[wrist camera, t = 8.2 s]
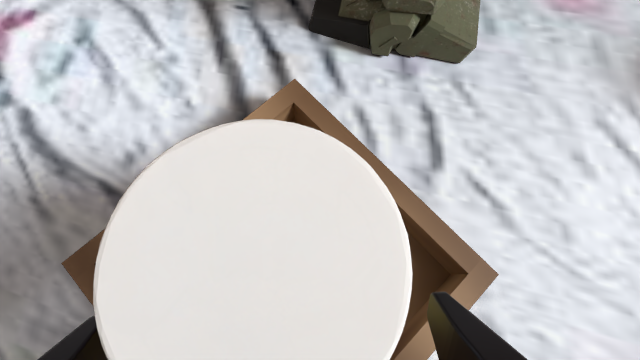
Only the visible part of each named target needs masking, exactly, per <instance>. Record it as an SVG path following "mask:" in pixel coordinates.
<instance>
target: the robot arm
mask: <svg viewBox="0 0 640 360" xmlns="http://www.w3.org/2000/svg"><path fill="white" fill-rule="evenodd" d="M427 319H428V323H429V326H430V330H431V333H432V337H433V340H434V344H435V347H436V351H437V354H438V358H439V360H527V359H526V358H525V357H524V356H523V355H521V354H520V353H519V352H518V351H517V350H515V349H514V348H513V347H512V346H511V345H509V344H508V343H507V342H506V341H505V340H503V339H502V338H501V337H500V336H499V335H497V334H496V333H495V332H494V331H493V330H491V329H490V328H489V327H488V326H487V325H485V324H484V323H483V322H482V321H481V320H479V319H478V318H477V317H476V316H475V315H473V314H472V313H471V312H470V311H469V310H467V309H466V308H465V307H464V306H462V305H461V304H460V303H459V302H458V301H456V300H455V299H454V298H453V297H452V296H450V295H449V294H448V293H446V292H433V293H431V295H430V299H429V304H428V309H427ZM38 360H108V358H107V357H106V354H105V352H104V350H103V347H102V344H101V341H100V337H99V334H98V329H97V324H96V319H95V316H92V317H90V318H89V319H88V320H86V321H85V322H84V323H83V324H81V325H80V326H79V327H78V328H76V329H75V330H74V331H73V332H71V333H70V334H69V335H68V336H66V337H65V338H64V339H63V340H61V341H60V342H59V343H58V344H56V345H55V346H54V347H53V348H51V349H50V350H49V351H48V352H46V353H45V354H44V355H43V356H41V357H40V358H39V359H38Z"/></svg>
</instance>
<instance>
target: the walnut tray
mask: <svg viewBox="0 0 640 360" xmlns="http://www.w3.org/2000/svg"><path fill="white" fill-rule="evenodd" d="M252 119H273V120H279V121H286V122H292V123H297V124H300V125H303V126H307V127H310V128H313V129H316V130H319V131H321V132H323V133H325V134H327V135H329V136H331V137H333V138H335V139H337V140H339V141H340V142H342V143H343V144H345V145H346V146H348V147H349V148H351V149H352V150H353V151H354V152H356V153H357V154H358V155H359V156H360V157H362V158H363V159H364V160H365V161H366V162H367V163H368V164H369V165H370V166H371V167H372V169H373V170H374V171H375V172H376V174H377V175H378V176H379V177H380V179H381V180H382V181H383V183H384V184H385V185H386V187H387V188H388V190H389V192H390V194H391V195H392V197H393V199H394V200H395V203H396V205H397V207H398V209H399V211H400V214H401V217H402V220H403V223H404V225H405V228H406V231H407V234H408V239H409V245H410V253H411V263H412V291H411V297H410V304H409V310H408V314H407V318H406V321H405V325H404V328H403V332H402V334H401V337H400V339H399V341H398V344H397V346H396V348H395V350H394V352H393V354H392V356H391V358H390V360H427V359H428V358H429V357H430V356H431V354H432V353H433V352H434V351H435V350H436V347H435V344H434V340H433V337H432V333H431V330H430V326H429V323H428V319H427V309H428V304H429V299H430V295H431V293H433V292H446V293H448V294H449V295H450V296H452V297H453V298H454V299H455V300H456V301H458V302H459V303H460V304H461V305H462V306H464V307H465V308H466V309H467V310H469V309H470V308H471V307H472V306H473V304H474V303H475V302H476V301H477V300H478V299H479V297H480V296H481V295H482V294H483V293H484V291H485V290H486V289H487V288H488V287H489V285H490V284H491V283H492V282H493V281H494V280H495V278H496V277H497V276H498V275H499V274H498V273H497V272H496V271H495V270H493V269H492V268H491V267H490V266H489V265H488V264H487V263H486V262H485V261H484V260H483V259H482V258H481V257H480V256H479V255H478V254H477V253H476V252H475V251H474V250H473V249H472V248H471V247H470V246H468V245H467V244H466V243H465V242H464V241H463V240H462V239H461V238H460V237H459V236H458V235H457V234H456V233H455V232H454V231H453V230H452V229H451V228H450V227H449V226H448V225H447V224H446V223H445V222H443V221H442V220H441V219H440V218H439V217H438V216H437V215H436V214H435V213H434V212H433V211H432V210H431V209H430V208H429V207H428V206H427V205H426V204H425V203H424V202H423V201H422V200H421V199H420V198H418V197H417V196H416V195H415V194H414V193H413V192H412V191H411V190H410V189H409V188H408V187H407V186H406V185H405V184H404V183H403V182H402V181H401V180H400V179H399V178H398V177H397V176H396V175H394V174H393V173H392V172H391V171H390V170H389V169H388V168H387V167H386V166H385V165H384V164H383V163H382V162H381V161H380V160H379V159H378V158H377V157H376V156H375V155H374V154H373V153H372V152H371V151H369V150H368V149H367V148H366V147H365V146H364V145H363V144H362V143H361V142H360V141H359V140H358V139H357V138H356V137H355V136H354V135H353V134H352V133H351V132H350V131H349V130H348V129H347V128H346V127H344V126H343V125H342V124H341V123H340V122H339V121H338V120H337V119H336V118H335V117H334V116H333V115H332V114H331V113H330V112H329V111H328V110H327V109H326V108H325V107H324V106H323V105H322V104H321V103H319V102H318V101H317V100H316V99H315V98H314V97H313V96H312V95H311V94H310V93H309V92H308V91H307V90H306V89H305V88H304V87H303V86H302V85H301V84H300V83H299V82H298V81H297V80H296V79H294V80H293V81H291V82H290V83H289V84H288V85H286V86H285V87H284V88H283V89H281V90H280V91H279V92H277V93H276V94H275V95H274V96H272V97H271V98H270V99H269V100H267V101H266V102H265V103H264V104H262V105H261V106H260V107H258V108H257V109H256V110H255V111H253V112H252V113H251V114H250V115H248V116H247V117H246V118H245V119H243V120H252ZM104 231H105V229H104V230H103V231H102V232H100V233H99V234H98V235H97V236H95V237H94V238H93V239H91V240H90V241H89V242H88V243H86V244H85V245H84V246H83V247H81V248H80V249H79V250H78V251H76V252H75V253H74V254H73V255H71V256H70V257H69V258H67V259H66V260H65V261H64V262H62V265H63V266H64V268H65V269H66V270H67V272H68V273H69V274H70V276H71V277H72V278H73V280H74V281H75V282H76V284H77V285H78V286H79V288H80V289H81V290H82V292H83V293H84V294H85V296H86V297H87V298H88V300H89V301H90V303H91V304H92V305H93V282H94V272H95V265H96V259H97V255H98V250H99V246H100V242H101V239H102V237H103V234H104ZM93 307H94V305H93Z"/></svg>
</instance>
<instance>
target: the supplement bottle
mask: <svg viewBox="0 0 640 360" xmlns="http://www.w3.org/2000/svg"><path fill="white" fill-rule="evenodd" d="M411 291H412V263H411V253H410V245H409V239H408V234H407V231H406V228H405V225H404V223H403V220H402V217H401V214H400V211H399V209H398V207H397V205H396V203H395V200H394V199H393V197H392V195H391V194H390V192H389V190H388V188H387V187H386V185H385V184H384V183H383V181H382V180H381V179H380V177H379V176H378V175H377V174H376V172H375V171H374V170H373V169H372V167H371V166H370V165H369V164H368V163H367V162H366V161H365V160H364V159H363V158H362V157H360V156H359V155H358V154H357V153H356V152H354V151H353V150H352V149H351V148H349V147H348V146H346V145H345V144H343V143H342V142H340V141H339V140H337V139H335V138H333V137H331V136H329V135H327V134H325V133H323V132H321V131H319V130H316V129H313V128H310V127H307V126H303V125H300V124H297V123H292V122H286V121H279V120H273V119H252V120H241V121H236V122H231V123H226V124H222V125H219V126H215V127H212V128H209V129H206V130H204V131H202V132H200V133H197V134H195V135H193V136H191V137H188V138H186V139H184V140H182V141H181V142H179V143H177V144H176V145H174V146H172V147H171V148H169V149H168V150H166V151H165V152H163V153H162V154H161V155H160V156H159V157H157V158H156V159H155V160H154V161H153V162H151V163H150V164H149V165H148V166H147V167H146V168H145V169H144V170H143V171H142V172H141V173H140V174H139V175H138V176H137V177H136V179H135V180H134V181H133V182H132V183H131V185H130V186H129V187H128V189H127V190H126V191H125V193H124V194H123V196H122V197H121V199H120V200H119V202H118V204H117V206H116V208H115V210H114V211H113V213H112V215H111V217H110V220H109V222H108V224H107V226H106V228H105V231H104V234H103V237H102V239H101V242H100V246H99V250H98V255H97V259H96V265H95V272H94V282H93V305H94V312H95V319H96V324H97V329H98V334H99V337H100V341H101V344H102V347H103V350H104V352H105V354H106V357H107V358H108V360H390V358H391V356H392V354H393V352H394V350H395V348H396V346H397V344H398V341H399V339H400V337H401V334H402V332H403V328H404V325H405V321H406V318H407V314H408V310H409V304H410V297H411Z"/></svg>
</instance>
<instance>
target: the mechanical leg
mask: <svg viewBox="0 0 640 360" xmlns="http://www.w3.org/2000/svg"><path fill="white" fill-rule="evenodd" d="M479 9H480V0H316V1H315V5H314V9H313V13H312V16H311V20H310V24H309V30H310V31H312V32H315V33H318V34H322V35H325V36H328V37H332V38H335V39H338V40H342V41H345V42H348V43H352V44H355V45H358V46H362V47H365V48H368V49H369V45H370V46H371V51H372V54H376V55H383V56H388V55H389V54H390V52H391V50H392V49H394V50H396V51H397V52H398V53H399V54H401V55H406V56H411V57H415V56H416V55H418V56H423V57H428V58H434V59H439V60H444V61H449V62H455V63H460V62H461V61H462V60H463V59H464V58H465V57H466V56H467V55H468V54H470V53H471V52H472V51H473V50H474V49H475V48H476V45H477V33H478V21H479Z"/></svg>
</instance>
